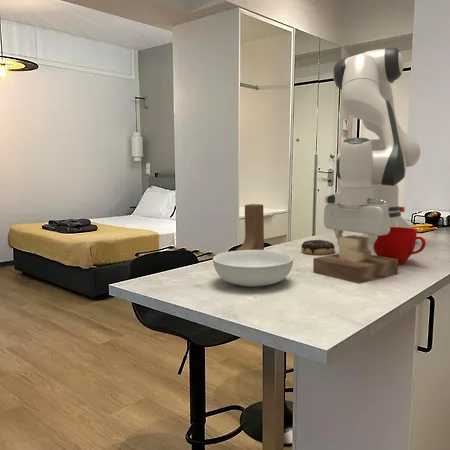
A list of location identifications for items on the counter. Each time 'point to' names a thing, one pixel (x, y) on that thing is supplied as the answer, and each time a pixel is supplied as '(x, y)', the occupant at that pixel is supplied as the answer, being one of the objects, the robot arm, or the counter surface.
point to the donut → (317, 247)
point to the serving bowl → (253, 267)
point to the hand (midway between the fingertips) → (355, 247)
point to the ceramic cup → (398, 244)
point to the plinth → (355, 268)
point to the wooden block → (253, 228)
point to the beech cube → (354, 248)
